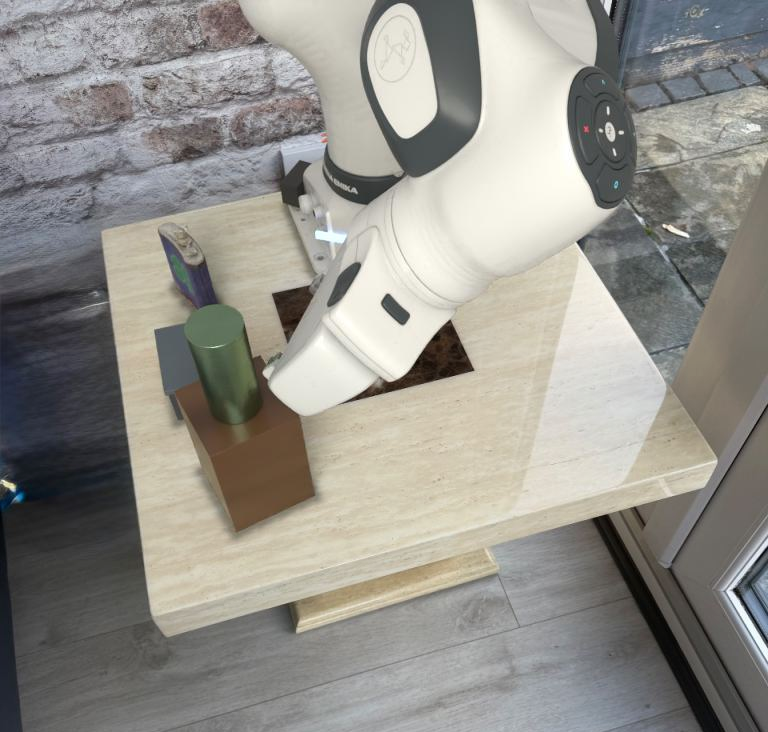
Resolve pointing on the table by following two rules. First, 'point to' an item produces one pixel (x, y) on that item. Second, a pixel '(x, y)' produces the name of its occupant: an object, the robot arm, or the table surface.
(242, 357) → the tin
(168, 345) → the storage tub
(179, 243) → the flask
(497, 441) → the table surface
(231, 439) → the block
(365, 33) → the robot arm
